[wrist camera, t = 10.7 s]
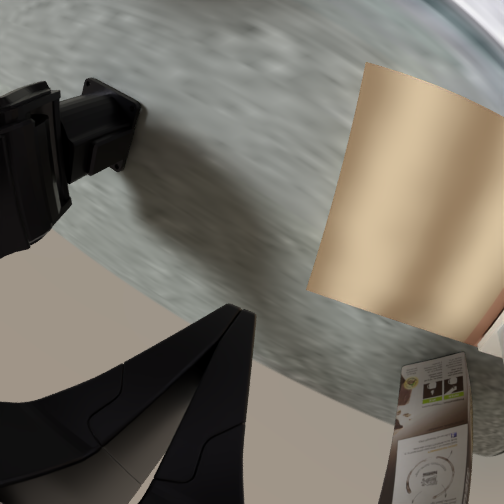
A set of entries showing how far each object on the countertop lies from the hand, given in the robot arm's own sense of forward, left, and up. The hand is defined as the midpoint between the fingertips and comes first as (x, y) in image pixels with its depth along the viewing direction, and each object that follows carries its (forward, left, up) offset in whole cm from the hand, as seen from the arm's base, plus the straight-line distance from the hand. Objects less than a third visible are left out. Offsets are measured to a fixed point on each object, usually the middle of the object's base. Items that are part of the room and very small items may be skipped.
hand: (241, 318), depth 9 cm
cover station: (+12, +4, -13) cm, 18 cm away
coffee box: (+21, -9, -13) cm, 27 cm away
